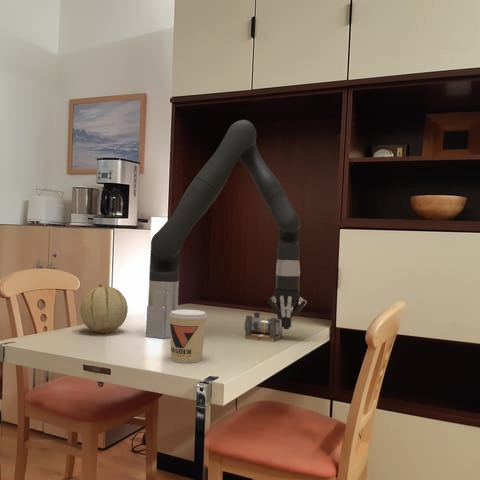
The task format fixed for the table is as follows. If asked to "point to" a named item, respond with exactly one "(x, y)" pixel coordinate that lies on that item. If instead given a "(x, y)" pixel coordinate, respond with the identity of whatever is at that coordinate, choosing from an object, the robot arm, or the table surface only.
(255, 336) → the cylinder holder stand
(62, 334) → the table surface
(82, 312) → the cantaloupe
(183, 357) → the coffee cup
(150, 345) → the table surface
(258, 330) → the grey cylinder
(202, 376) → the table surface
